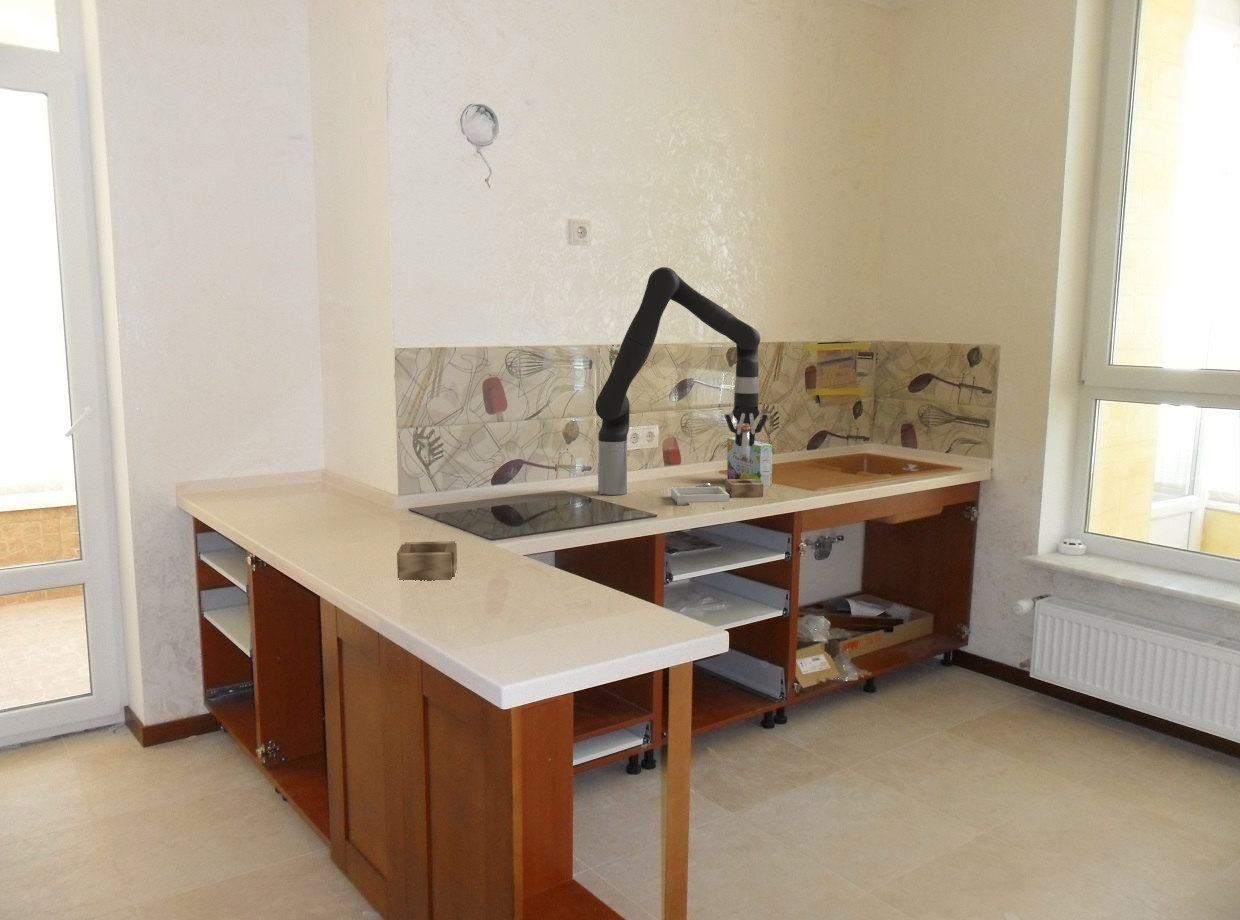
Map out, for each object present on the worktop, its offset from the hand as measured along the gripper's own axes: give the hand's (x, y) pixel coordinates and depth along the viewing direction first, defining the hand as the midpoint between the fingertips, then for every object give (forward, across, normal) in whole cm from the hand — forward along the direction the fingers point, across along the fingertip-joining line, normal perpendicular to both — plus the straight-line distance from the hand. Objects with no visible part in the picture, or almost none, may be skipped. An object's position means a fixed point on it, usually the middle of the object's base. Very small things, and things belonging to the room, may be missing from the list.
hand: (744, 445), depth 303 cm
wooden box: (+17, 0, 0) cm, 17 cm away
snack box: (+17, +7, +24) cm, 30 cm away
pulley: (+17, -11, +6) cm, 21 cm away
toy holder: (+17, -90, -88) cm, 127 cm away
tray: (+17, -15, -4) cm, 23 cm away
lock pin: (+5, 0, 0) cm, 5 cm away
